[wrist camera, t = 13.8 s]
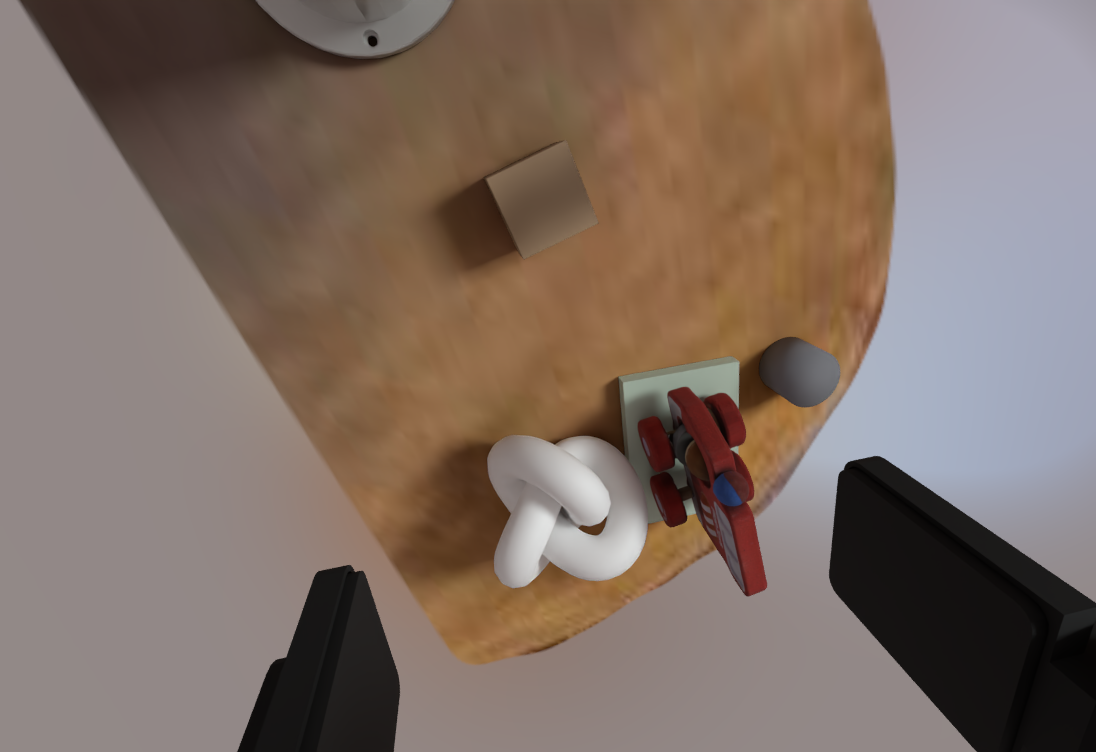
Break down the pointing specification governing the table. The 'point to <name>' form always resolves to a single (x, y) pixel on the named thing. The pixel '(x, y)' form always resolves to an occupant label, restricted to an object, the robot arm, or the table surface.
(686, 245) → the table surface
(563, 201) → the walnut block
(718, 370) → the board
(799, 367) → the grey rounded pebble
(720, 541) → the red wheeled piece
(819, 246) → the table surface
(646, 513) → the white knot
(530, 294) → the table surface
